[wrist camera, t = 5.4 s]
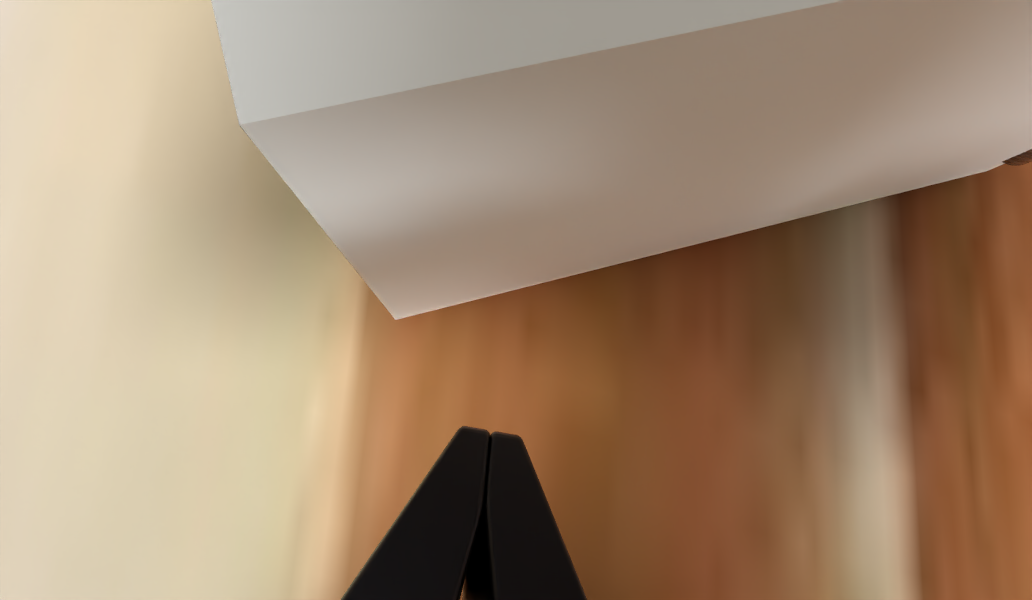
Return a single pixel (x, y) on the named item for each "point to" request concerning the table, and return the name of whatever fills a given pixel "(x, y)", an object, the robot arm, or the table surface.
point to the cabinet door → (609, 122)
